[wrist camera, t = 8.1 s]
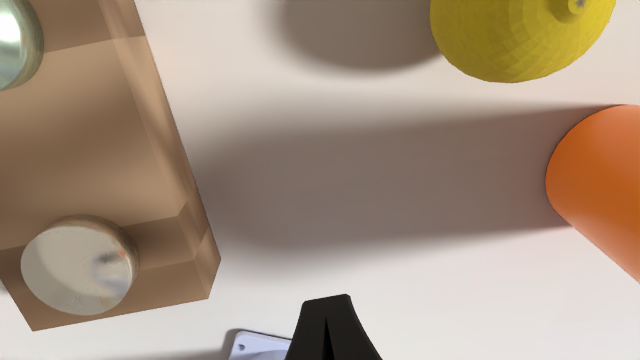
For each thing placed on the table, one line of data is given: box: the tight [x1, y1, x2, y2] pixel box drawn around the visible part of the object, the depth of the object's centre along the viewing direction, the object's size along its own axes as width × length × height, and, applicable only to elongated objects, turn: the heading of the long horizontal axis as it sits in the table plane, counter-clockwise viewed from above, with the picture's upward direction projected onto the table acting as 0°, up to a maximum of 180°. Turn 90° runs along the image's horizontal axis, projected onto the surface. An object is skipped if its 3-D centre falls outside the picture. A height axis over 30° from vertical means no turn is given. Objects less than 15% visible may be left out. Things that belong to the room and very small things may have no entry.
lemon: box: [429, 0, 616, 83], centre depth 15 cm, size 6×6×8 cm
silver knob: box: [21, 214, 140, 315], centre depth 19 cm, size 4×4×4 cm
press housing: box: [0, 0, 221, 331], centre depth 18 cm, size 17×9×4 cm, turn 11°
